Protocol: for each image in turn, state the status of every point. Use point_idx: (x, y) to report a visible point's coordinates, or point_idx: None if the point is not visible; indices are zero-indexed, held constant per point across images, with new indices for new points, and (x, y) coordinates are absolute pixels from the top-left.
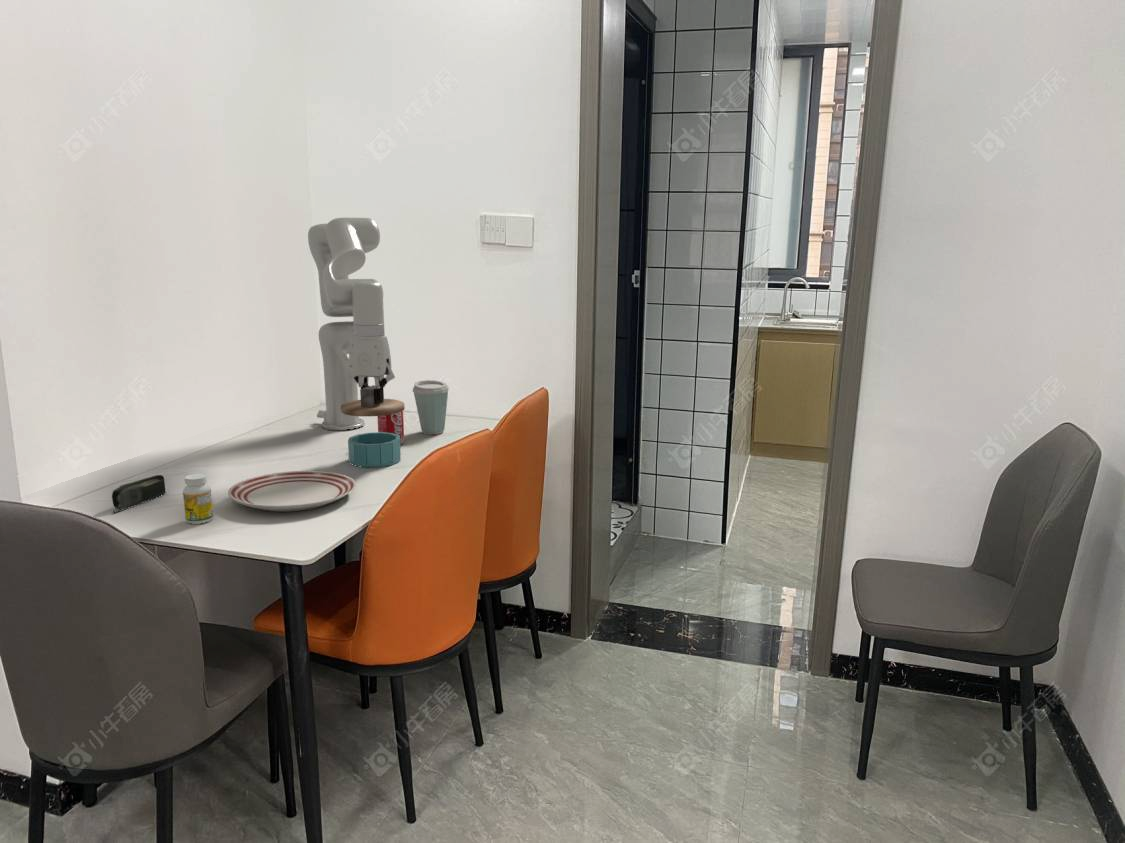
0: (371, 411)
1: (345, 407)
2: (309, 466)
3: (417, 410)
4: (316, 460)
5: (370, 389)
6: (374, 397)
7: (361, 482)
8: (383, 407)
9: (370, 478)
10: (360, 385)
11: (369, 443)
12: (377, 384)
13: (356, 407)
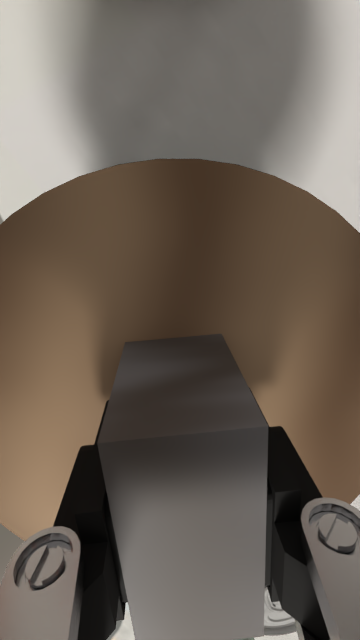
0: (13, 222)
1: (327, 255)
2: (339, 141)
3: (248, 638)
4: (355, 218)
5: (133, 479)
6: None
7: (29, 42)
8: (45, 389)
9: (39, 110)
10: (339, 529)
11: None
12: (27, 598)
13: (241, 297)
